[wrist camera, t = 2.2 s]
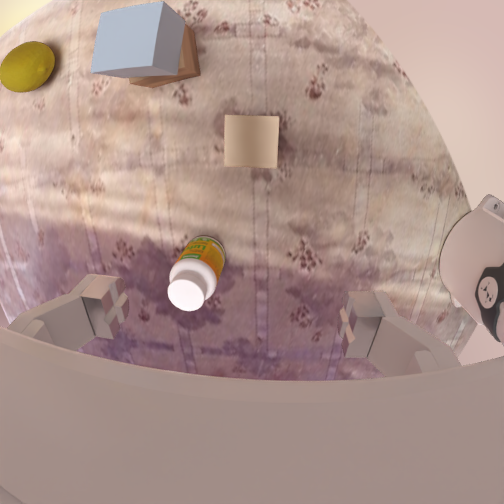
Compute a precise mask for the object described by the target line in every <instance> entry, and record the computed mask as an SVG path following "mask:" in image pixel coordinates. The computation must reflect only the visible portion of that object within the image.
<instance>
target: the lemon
mask: <svg viewBox="0 0 504 504" xmlns="http://www.w3.org/2000/svg"><path fill="white" fill-rule="evenodd" d="M54 64H55V56H54V54H53V52H52V50H51V49H50V48H49V47H48V46H47V45H45V44H43V43H41V42H36V41H31V42H26V43H23V44H21V45H19V46H18V47H16V48H14V49H13V50H12V51H11V52H10V53H8V55H7V56H6V57H5V59H4V60H3V62H2V64H1V66H0V80H1V83H2V84H3V85H4V86H5V87H6V88H7V89H9V90H11V91H14V92H29V91H33V90H35V89H37V88H38V87H40V86H41V85H42V84H43V83H44V82H45V81H46V80H47V79H48V77H49V76H50V74H51V72H52V70H53V68H54Z"/></svg>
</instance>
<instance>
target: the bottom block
mask: <svg viewBox="0 0 504 504" xmlns="http://www.w3.org/2000/svg"><path fill="white" fill-rule="evenodd" d="M196 76H200V69H199V62H198V55H197V48H196V42H195V35H194V31H193V30H192V29H191V28H190V27H188V26H187V25H186V24H185V27H184V33H183V39H182V45H181V52H180V59H179V66H178V73H177V75H163V76H144V77H131V78H129V81H130V84H134V85H140V86H145V87H151V88H155V87H158V86H161V85H165V84H168V83H172V82H176V81H180V80H183V79H187V78H192V77H196Z"/></svg>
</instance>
